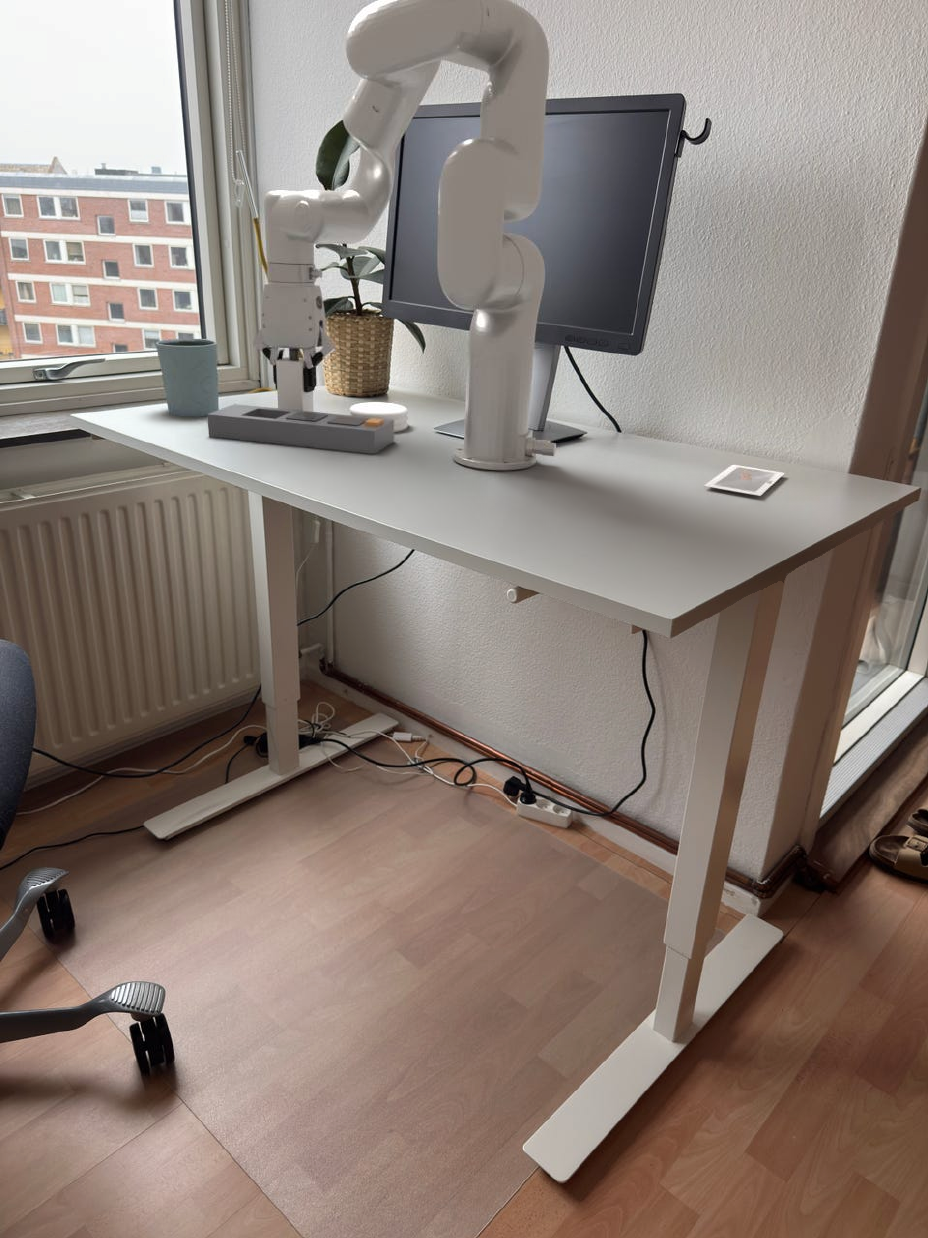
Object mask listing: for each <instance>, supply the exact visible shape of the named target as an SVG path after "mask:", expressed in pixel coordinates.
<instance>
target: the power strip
mask: <svg viewBox="0 0 928 1238" xmlns="http://www.w3.org/2000/svg"><path fill="white" fill-rule="evenodd" d="M206 418H207V429H208V437H213V438H222V439H223V438H224V439H232V440H240V441H241V440H242V441H248V442H249V441H250V442H259V443H260V442H261V443H267V444H280V445H287V446H296V447H304V448H305V447H306V448H307V447H308V448H316V449H324V450H334V451H343V452H354V453H362V454H370V455H371V454H372V455H373V454H374V455H375V454H377V453H378V452H380V451H382V450H383V449H384V448H386V447H388V446H389V445H390V444H392V443H394V441H395V439H394V438H395V436H394V435H395V434H394V433H395V432H394V420H391V419H381V418H371V417H361V416H351V415H350V414H339V413H329V412H321V411H320V412H318V411H314V412H310V411H299V410H289V409H279V408H278V407H267V406H256V405H247V404H236V403H234V404H231V405H229V406H225V407H223V408H221V409H220V408H219V410H217V411H215V412H212V413H209V414H207V417H206Z"/></svg>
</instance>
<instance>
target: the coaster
mask: <svg viewBox="0 0 928 1238" xmlns="http://www.w3.org/2000/svg"><path fill="white" fill-rule="evenodd" d="M408 413H409V410H408V409H407V407H405V406H403V405H401V404H396V403H391V402H382V401H381V402H377V401H375V402H374V401H373V402H361V403H356V404H353V405H351V406H350V408H349V415H351V416H361V417H371V418H381V419H391V420H394V433H399V432H401V431H402V432H403V431H404V430H407V428H408V419H409V418H408Z"/></svg>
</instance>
